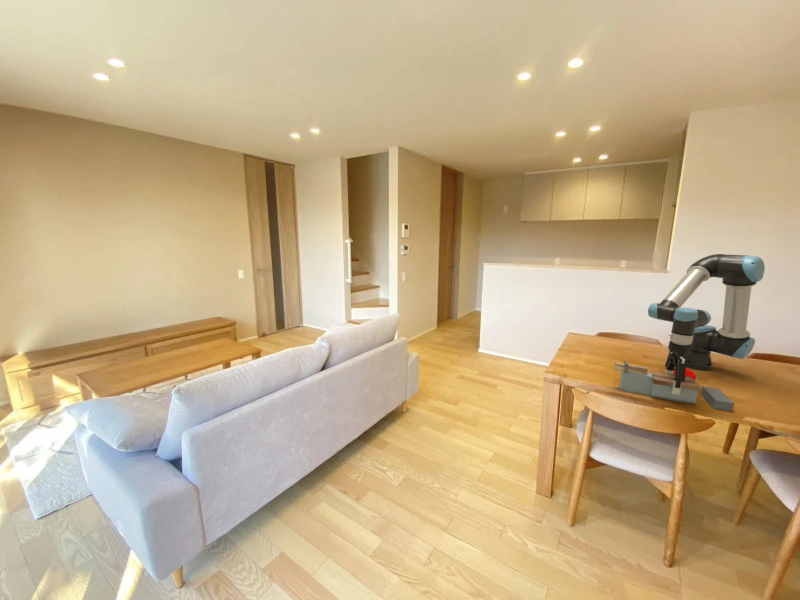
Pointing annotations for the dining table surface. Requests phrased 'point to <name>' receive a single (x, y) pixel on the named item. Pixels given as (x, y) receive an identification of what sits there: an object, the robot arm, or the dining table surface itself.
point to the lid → (668, 381)
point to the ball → (689, 374)
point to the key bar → (631, 368)
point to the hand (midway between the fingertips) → (671, 388)
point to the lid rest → (717, 399)
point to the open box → (666, 394)
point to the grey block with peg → (635, 381)
